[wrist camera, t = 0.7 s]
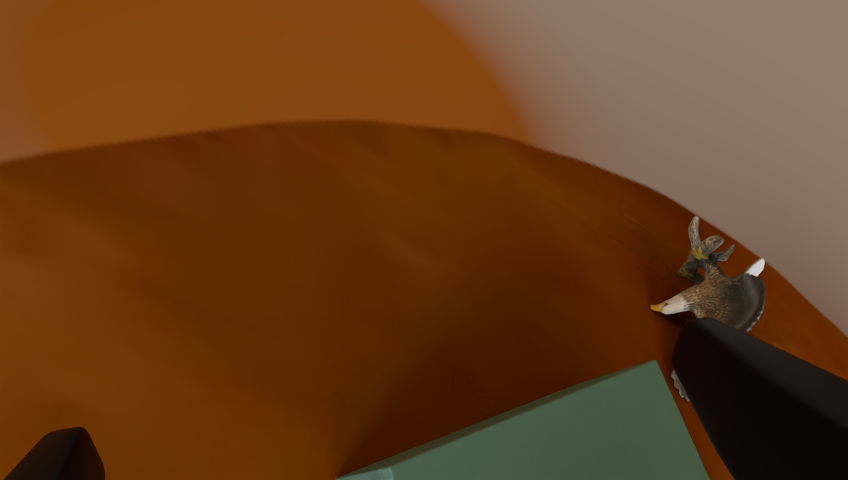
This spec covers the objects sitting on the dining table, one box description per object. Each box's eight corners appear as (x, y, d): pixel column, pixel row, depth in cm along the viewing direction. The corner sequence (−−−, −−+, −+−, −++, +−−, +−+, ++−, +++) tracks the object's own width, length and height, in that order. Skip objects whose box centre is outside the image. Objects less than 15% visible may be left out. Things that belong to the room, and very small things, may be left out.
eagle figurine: (626, 233, 36) (661, 361, 30) (751, 198, 33) (816, 331, 27) (651, 296, 41) (684, 417, 35) (761, 270, 38) (817, 396, 32)
